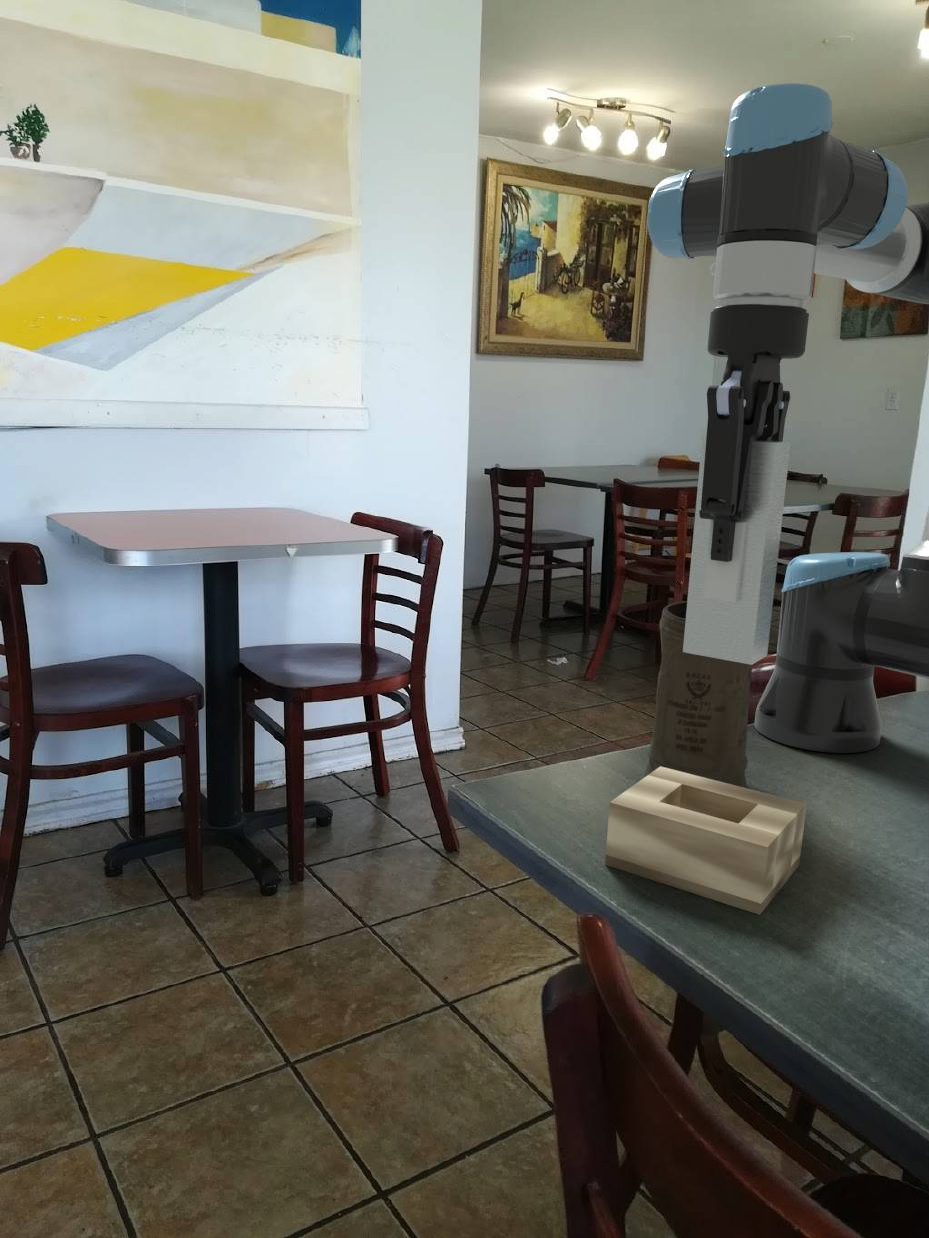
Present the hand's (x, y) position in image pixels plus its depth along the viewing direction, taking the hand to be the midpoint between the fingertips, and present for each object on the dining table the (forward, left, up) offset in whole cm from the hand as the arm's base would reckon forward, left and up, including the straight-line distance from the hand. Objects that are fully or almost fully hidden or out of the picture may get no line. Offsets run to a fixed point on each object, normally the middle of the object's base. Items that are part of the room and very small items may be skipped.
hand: (730, 594), depth 83 cm
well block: (0, 0, -25) cm, 25 cm away
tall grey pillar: (0, 0, -5) cm, 5 cm away
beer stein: (-18, -8, -25) cm, 32 cm away
